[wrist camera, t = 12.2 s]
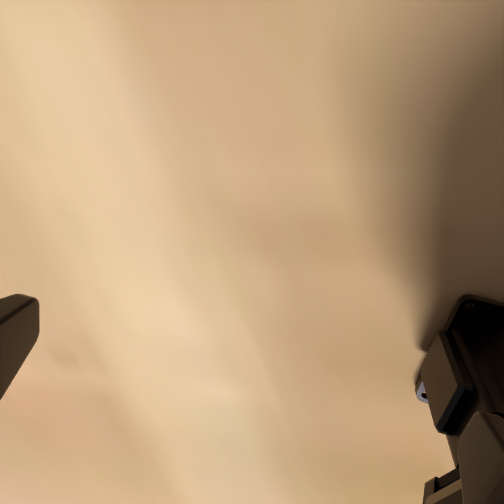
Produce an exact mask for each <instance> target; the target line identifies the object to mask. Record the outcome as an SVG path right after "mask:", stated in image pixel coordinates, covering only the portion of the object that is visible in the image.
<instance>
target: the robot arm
mask: <svg viewBox="0 0 504 504" xmlns="http://www.w3.org/2000/svg"><path fill="white" fill-rule="evenodd" d="M469 303H471V304H473V306H472V307H471V308H465V306H466V305H467V304H469ZM38 335H39V302H38V300H37V299H36V298H35V297H31V296H27V295H23V294H14V295H11V296H8V297H5V298H2V299H0V400H1V398H2V397H3V395H4V394H5V392H6V390H7V389H8V387H9V385H10V384H11V382H12V380H13V379H14V377H15V376H16V374H17V372H18V371H19V369H20V367H21V366H22V364H23V362H24V361H25V359H26V358H27V356H28V354H29V353H30V351H31V349H32V348H33V346H34V344H35V343H36V341H37V338H38ZM420 373H421V377H420V379H419V381H418V383H417V385H416V387H415V392H416V396H417V398H418V399H419V400H420V401H422V402H425V403H429V407H430V411H431V414H432V418H433V422H434V425H435V428H436V429H437V431H438V433H442V434H445V435H446V437H447V440H448V444H449V447H450V450H451V454H452V457H453V461H454V464H455V468H456V469H454V470H452V471H450V472H449V473H447V474H445V475H444V476H442V477H440V478H438V477H434V478H433V479H431V480H429V481H427V482H426V483H425V488H424V497H423V504H504V303H502V302H498V301H494V300H490V299H487V298H483V297H479V296H475V295H464V296H462V297H460V298H459V300H458V301H457V303H456V305H455V307H454V309H453V311H452V313H451V315H450V317H449V320H448V322H447V324H446V326H445V328H444V330H441V331H439V332H438V333H437V335H436V337H435V339H434V341H433V343H432V345H431V347H430V349H429V351H428V353H427V355H426V357H425V359H424V362H423V364H422V366H421V368H420ZM424 391H425V392H426V393H422V392H424Z"/></svg>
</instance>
